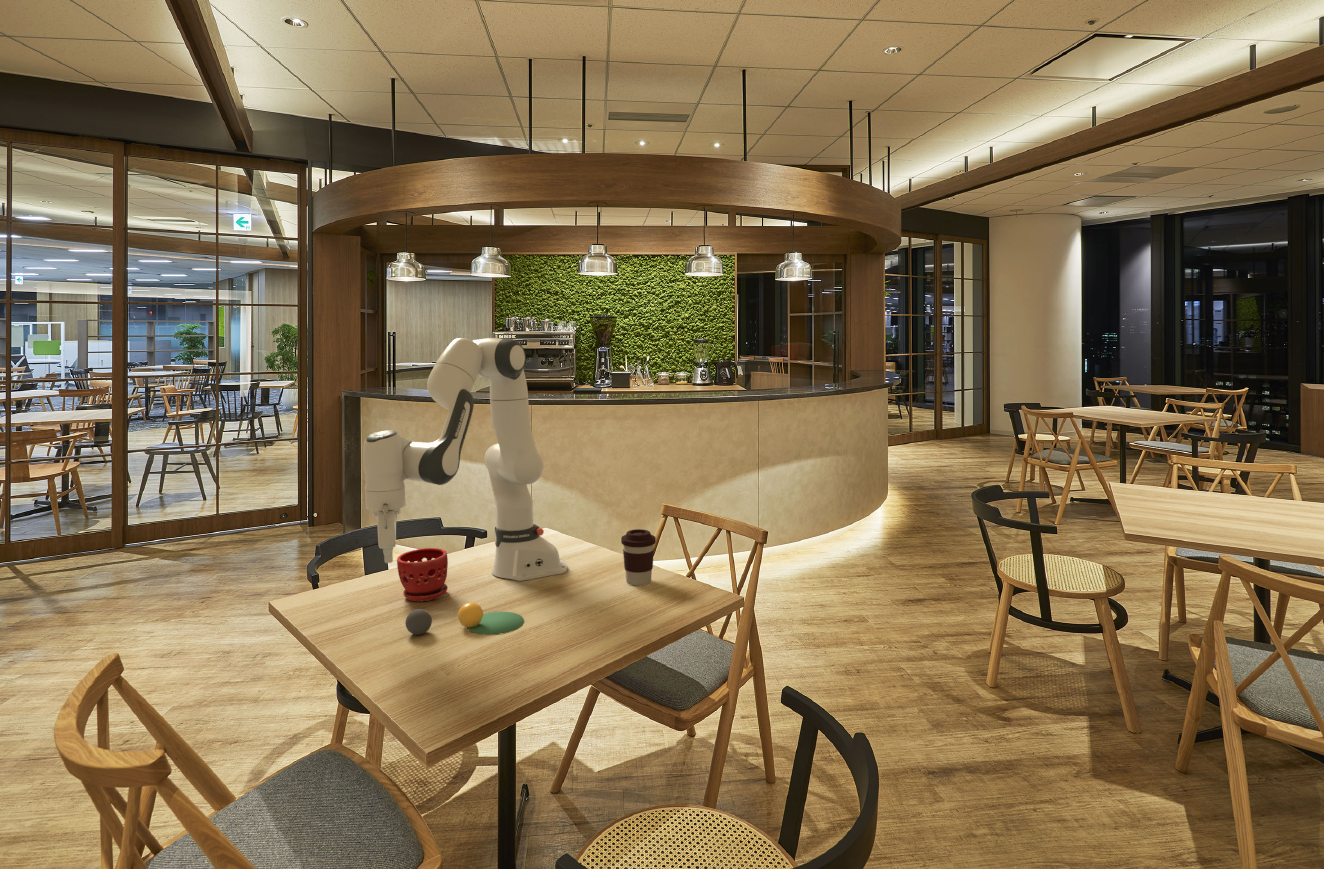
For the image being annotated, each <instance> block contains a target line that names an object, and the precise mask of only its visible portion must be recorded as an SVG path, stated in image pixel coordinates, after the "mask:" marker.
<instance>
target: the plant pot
mask: <svg viewBox="0 0 1324 869" xmlns="http://www.w3.org/2000/svg"><path fill="white" fill-rule="evenodd" d="M423 559H426V560H425V561H423ZM448 560H449V558H448V553H447V551H446V550H445V549H443V548H439V547H438V548H437V547H425V548H418V549H413V550H408V551H407V552H403V553H402V554H400V555H399V556H397V558H396V565H397V573H398V577H399V578H398V579H399V580H400V582H401V585H402V587H403V589H404V590H403V594H402V595H403V596H404V597H405V599H408V600H409V601H413V602H427V601H433V600H435V599H440V597H442V596H444V595H445V594H446V593H447V591H448V585H447V584H446V581H447V577H448V565H449V562H448Z"/></svg>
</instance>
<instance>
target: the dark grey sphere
mask: <svg viewBox="0 0 1324 869" xmlns="http://www.w3.org/2000/svg"><path fill="white" fill-rule="evenodd" d="M404 624H405V627H406V628H405V629H406V630H407V631H408V632H409V633H410V634H412V635H415V636H417V635H418V636H419V635H424V634H425V633H427V632H428V631H429V630H430V628H431V626H432V624H433V619H432V615H431V614H430V612H429V611H427V610H426V609H422V608H417V609H414V610H412V611H410V613H408V615H407V616H406V618H405V622H404Z"/></svg>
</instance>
